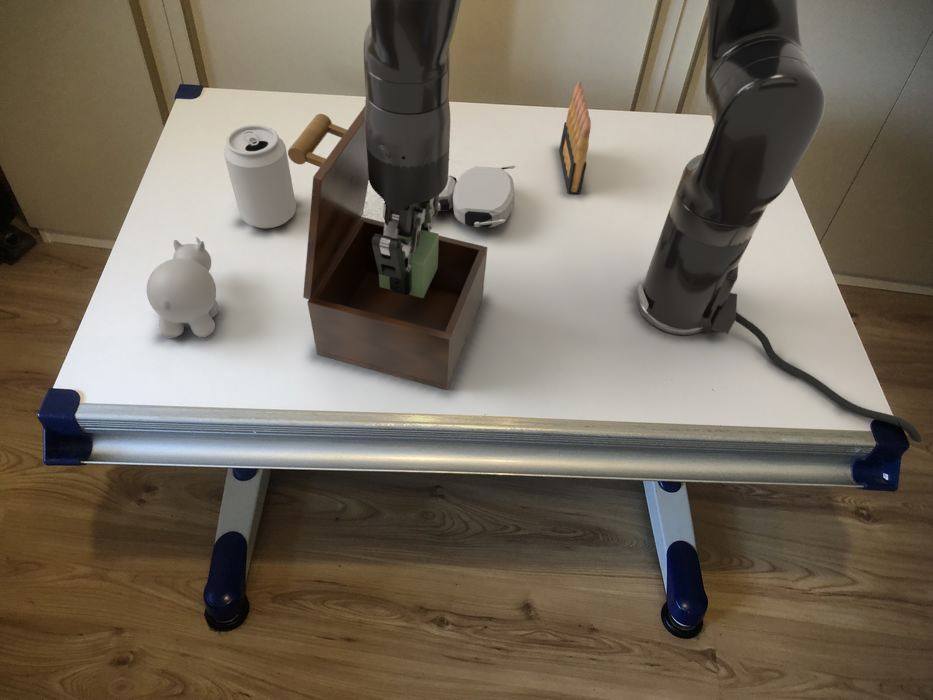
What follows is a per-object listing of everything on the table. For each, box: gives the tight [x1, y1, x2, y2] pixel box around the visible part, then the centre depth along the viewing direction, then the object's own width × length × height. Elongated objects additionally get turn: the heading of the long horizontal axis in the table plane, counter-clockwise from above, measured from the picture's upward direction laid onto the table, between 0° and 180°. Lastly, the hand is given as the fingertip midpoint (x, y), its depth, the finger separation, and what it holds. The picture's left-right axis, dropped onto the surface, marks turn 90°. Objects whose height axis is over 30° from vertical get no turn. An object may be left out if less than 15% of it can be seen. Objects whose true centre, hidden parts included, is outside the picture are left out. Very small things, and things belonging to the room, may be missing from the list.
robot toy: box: [437, 164, 517, 229], centre depth 94 cm, size 12×4×15 cm
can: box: [223, 124, 297, 229], centre depth 89 cm, size 8×8×12 cm
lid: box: [287, 106, 369, 301], centre depth 69 cm, size 16×15×5 cm
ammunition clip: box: [558, 80, 592, 194], centre depth 98 cm, size 11×2×12 cm, turn 2°
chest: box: [307, 216, 488, 390], centre depth 78 cm, size 16×15×9 cm
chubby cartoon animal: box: [146, 236, 220, 339], centre depth 79 cm, size 7×12×8 cm, turn 179°
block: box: [379, 230, 440, 298], centre depth 73 cm, size 5×5×5 cm
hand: (409, 273), depth 75 cm, fingers closed on block, 5 cm apart
